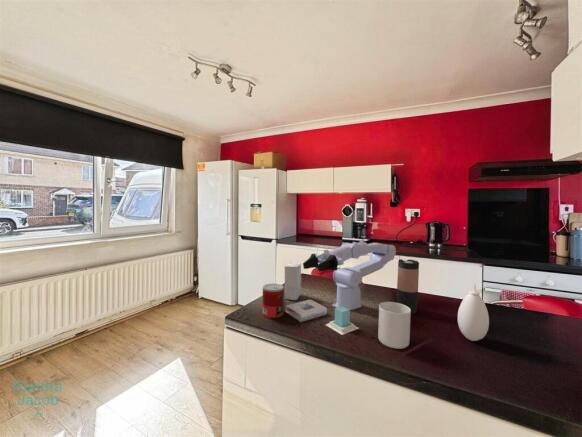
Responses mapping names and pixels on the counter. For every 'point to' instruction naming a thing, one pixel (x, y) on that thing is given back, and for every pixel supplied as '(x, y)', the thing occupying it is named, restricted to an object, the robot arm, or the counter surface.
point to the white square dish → (341, 330)
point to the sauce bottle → (473, 316)
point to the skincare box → (292, 281)
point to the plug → (342, 316)
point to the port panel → (302, 314)
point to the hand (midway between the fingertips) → (311, 267)
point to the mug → (394, 325)
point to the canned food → (273, 300)
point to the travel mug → (408, 283)
